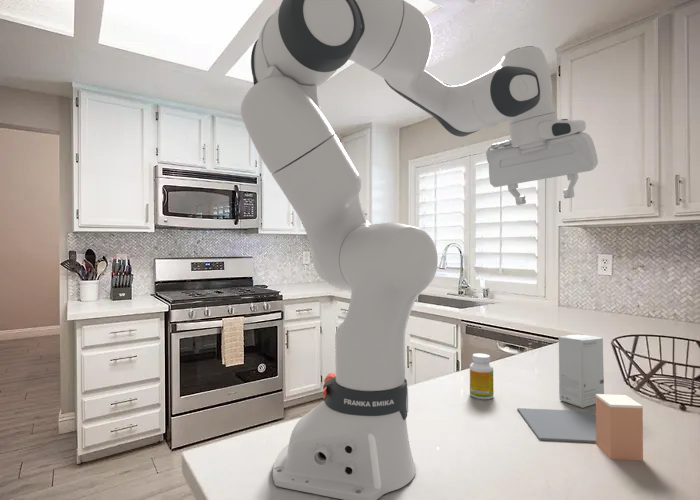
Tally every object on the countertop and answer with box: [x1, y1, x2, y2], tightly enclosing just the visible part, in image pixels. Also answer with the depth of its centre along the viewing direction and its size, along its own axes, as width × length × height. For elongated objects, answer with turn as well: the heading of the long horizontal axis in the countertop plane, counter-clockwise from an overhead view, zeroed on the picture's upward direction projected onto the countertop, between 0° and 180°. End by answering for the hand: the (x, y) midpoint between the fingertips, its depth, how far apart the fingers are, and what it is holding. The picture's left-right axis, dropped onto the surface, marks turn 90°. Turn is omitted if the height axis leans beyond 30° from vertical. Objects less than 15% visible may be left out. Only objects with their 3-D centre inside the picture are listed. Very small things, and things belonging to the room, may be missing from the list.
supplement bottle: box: [469, 352, 494, 400], centre depth 97 cm, size 5×5×10 cm
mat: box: [516, 407, 596, 444], centre depth 80 cm, size 15×14×1 cm
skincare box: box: [558, 333, 605, 409], centre depth 93 cm, size 8×6×15 cm
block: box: [595, 393, 644, 461], centre depth 69 cm, size 5×5×9 cm
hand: (544, 201), depth 83 cm, fingers open, 8 cm apart
